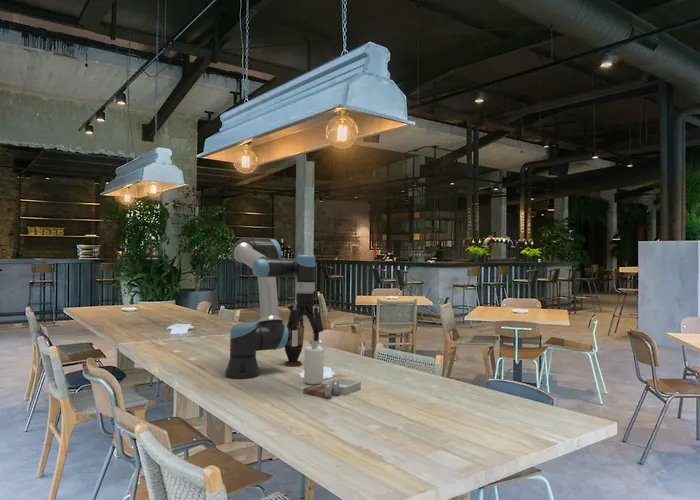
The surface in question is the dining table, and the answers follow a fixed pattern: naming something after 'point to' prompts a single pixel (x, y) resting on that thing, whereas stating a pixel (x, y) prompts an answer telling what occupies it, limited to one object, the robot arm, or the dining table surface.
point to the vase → (296, 350)
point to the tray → (344, 385)
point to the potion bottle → (313, 364)
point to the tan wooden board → (314, 390)
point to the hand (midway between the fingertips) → (304, 347)
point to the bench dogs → (331, 390)
